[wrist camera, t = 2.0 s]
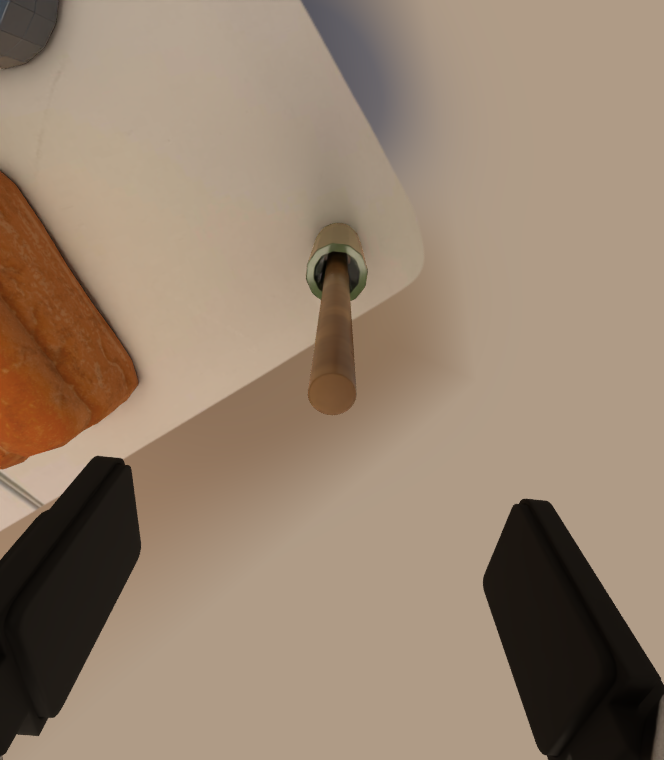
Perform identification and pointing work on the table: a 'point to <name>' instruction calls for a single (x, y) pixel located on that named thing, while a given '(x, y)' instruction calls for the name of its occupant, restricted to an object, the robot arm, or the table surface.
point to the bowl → (25, 29)
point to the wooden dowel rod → (334, 342)
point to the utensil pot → (337, 240)
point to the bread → (49, 342)
